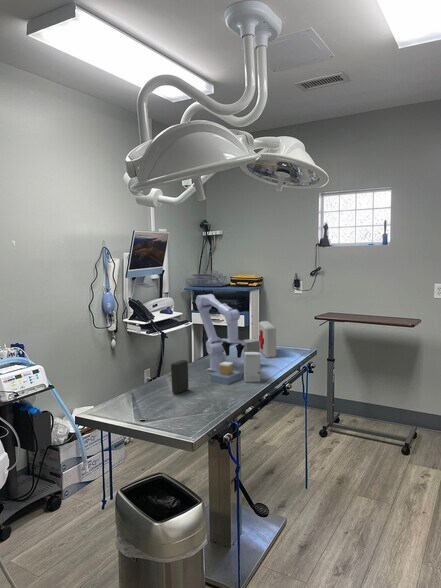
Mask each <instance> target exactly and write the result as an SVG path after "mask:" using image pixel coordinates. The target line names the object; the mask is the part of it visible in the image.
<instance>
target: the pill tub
mask: <svg viewBox="0 0 441 588" xmlns="http://www.w3.org/2000/svg"><path fill="white" fill-rule="evenodd" d="M219 365H220V374H223V375H230V374H232V373H233V370H234V366H233V365H234V362H232V361H226V362H222V363H220V364H219Z"/></svg>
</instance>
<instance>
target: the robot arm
mask: <svg viewBox="0 0 441 588" xmlns="http://www.w3.org/2000/svg"><path fill="white" fill-rule="evenodd" d="M195 298H196V299H195V301H194V302H195V304H196V308H197V311H198V312H199V315H200V319H201V322H202V325H203V327H204V332H206V337H207V340H206V341H205V346H206V352H207V354H208V356H209V365H210V366H209V367H208V368H207V369H206V370H208V371H212V372H219V371H220V365H219V364H220V363H222V362H227V357H229V356H230V348H231V344H234V345H235V347H236V356H237V359H238V358H241V357H242V352H243V348H244V346H245V341H243V340H241V339H239V321H238V320H240V318H241V315H240V314H241V313H240V311H239V310H238V309H234V308H232V307H230V306H229V305H228V304H227V303H225V302H224V303H222V302H220V301H219V300H218V299H217V298H216V296H215V295H214V294H213V293H209V294H201V295H200V294H199V295H197V296H196V297H195ZM212 307H214V308H216V309H217V311H218V313H219V314H221V315H222V316H223V317H224V319H225V323H226V326H227V327H226V329H227V338H221V337H219V336H218V335H217V333H216V329H215V326H214V323H213V320H212V318H211V315H210V310H211V309H212Z"/></svg>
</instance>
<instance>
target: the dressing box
mask: <svg viewBox="0 0 441 588" xmlns="http://www.w3.org/2000/svg"><path fill="white" fill-rule="evenodd" d="M242 375H243V372H242V371H238V370H234V369H233V373H232V374H230V375H223V374H220V371H218V372H217V371H215V372H214V373H212V374H210V382H211V383H212V382H213V383H217V384H222V385H227V386H228V385H231V384H233V383H234V382H237V381H240V380H242V378H243V376H242Z"/></svg>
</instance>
